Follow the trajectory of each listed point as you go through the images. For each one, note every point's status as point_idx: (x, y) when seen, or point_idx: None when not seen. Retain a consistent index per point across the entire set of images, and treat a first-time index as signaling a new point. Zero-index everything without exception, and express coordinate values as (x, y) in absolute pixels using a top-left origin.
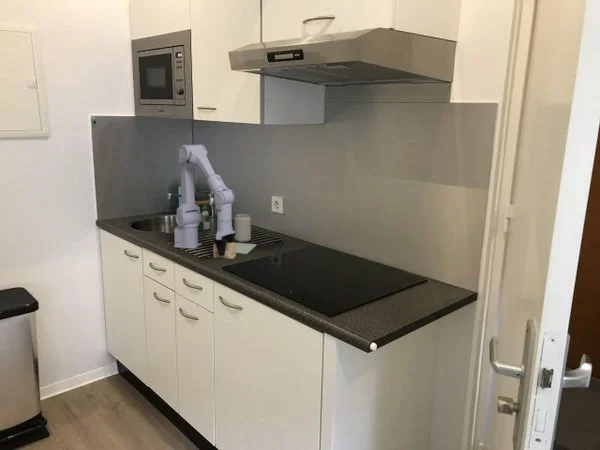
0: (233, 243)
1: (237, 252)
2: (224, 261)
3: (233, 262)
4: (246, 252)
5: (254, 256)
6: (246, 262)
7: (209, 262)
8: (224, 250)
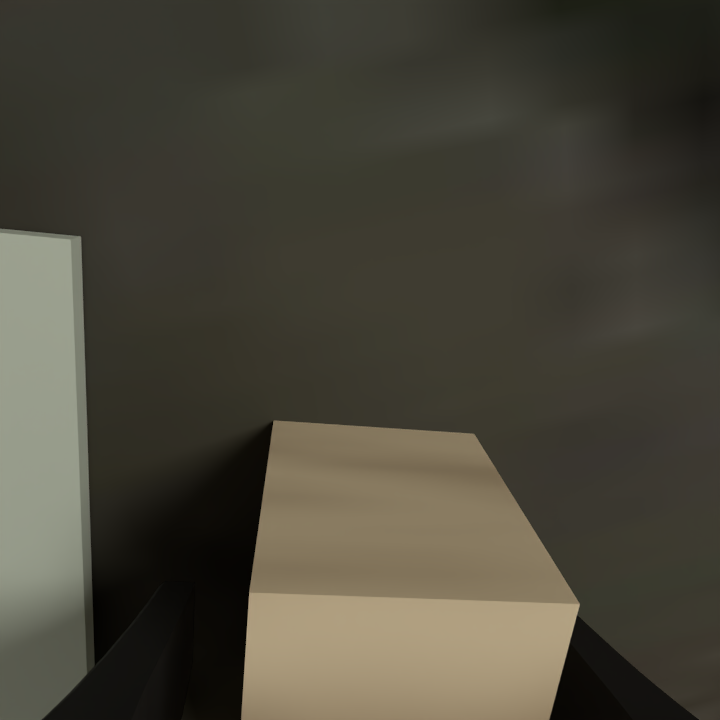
0: (327, 640)
1: (83, 441)
2: (642, 514)
3: (701, 365)
4: (59, 254)
5: (243, 17)
6: (708, 121)
7: (692, 685)
8: (630, 665)
